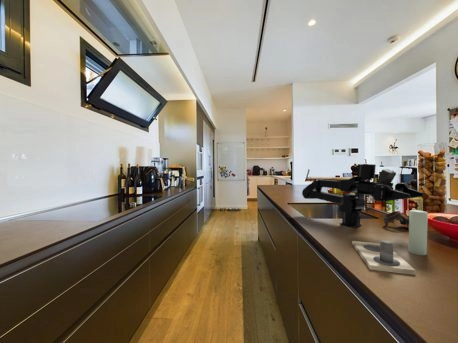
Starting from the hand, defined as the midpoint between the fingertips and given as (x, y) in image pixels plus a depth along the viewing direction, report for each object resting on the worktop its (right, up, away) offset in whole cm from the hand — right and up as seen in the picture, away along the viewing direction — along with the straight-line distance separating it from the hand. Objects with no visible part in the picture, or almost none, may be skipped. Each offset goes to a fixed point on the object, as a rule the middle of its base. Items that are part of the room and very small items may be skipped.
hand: (416, 195), depth 82 cm
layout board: (-22, -17, -13) cm, 31 cm away
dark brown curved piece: (+8, -16, +20) cm, 27 cm away
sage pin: (-8, -17, -10) cm, 21 cm away
